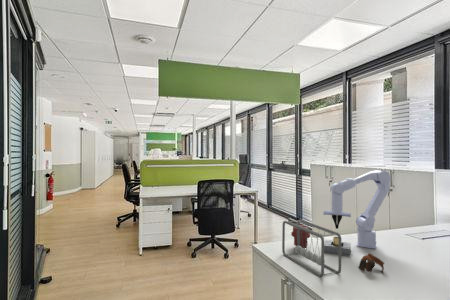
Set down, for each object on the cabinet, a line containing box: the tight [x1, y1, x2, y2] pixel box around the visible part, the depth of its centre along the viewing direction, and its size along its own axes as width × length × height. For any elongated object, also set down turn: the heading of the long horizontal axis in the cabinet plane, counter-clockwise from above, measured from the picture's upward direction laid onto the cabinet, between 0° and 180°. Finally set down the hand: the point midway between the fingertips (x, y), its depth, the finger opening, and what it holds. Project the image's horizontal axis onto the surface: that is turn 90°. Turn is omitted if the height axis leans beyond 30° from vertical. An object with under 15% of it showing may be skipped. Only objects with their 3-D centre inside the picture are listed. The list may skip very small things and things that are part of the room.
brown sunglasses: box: [358, 252, 385, 273], centre depth 124 cm, size 12×10×8 cm
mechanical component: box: [290, 224, 311, 249], centre depth 154 cm, size 12×10×10 cm
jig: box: [324, 239, 352, 257], centre depth 150 cm, size 13×11×4 cm
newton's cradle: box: [281, 218, 342, 278], centre depth 132 cm, size 30×10×18 cm, turn 22°
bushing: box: [332, 236, 339, 246], centre depth 150 cm, size 4×4×7 cm
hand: (336, 228), depth 160 cm, fingers closed
